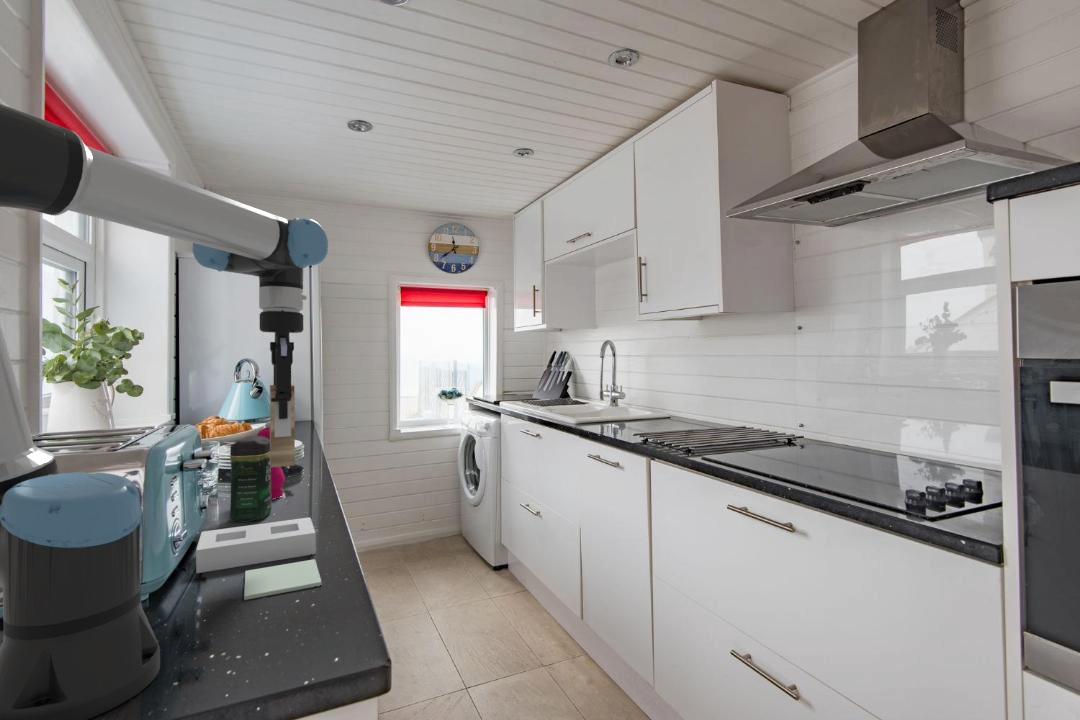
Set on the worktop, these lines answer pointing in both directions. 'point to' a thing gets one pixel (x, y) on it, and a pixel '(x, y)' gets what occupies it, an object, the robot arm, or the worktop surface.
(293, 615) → the worktop surface
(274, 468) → the pepper mill
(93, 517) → the robot arm
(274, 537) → the white box
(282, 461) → the tan wooden tall block
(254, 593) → the mat
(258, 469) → the coffee jar
